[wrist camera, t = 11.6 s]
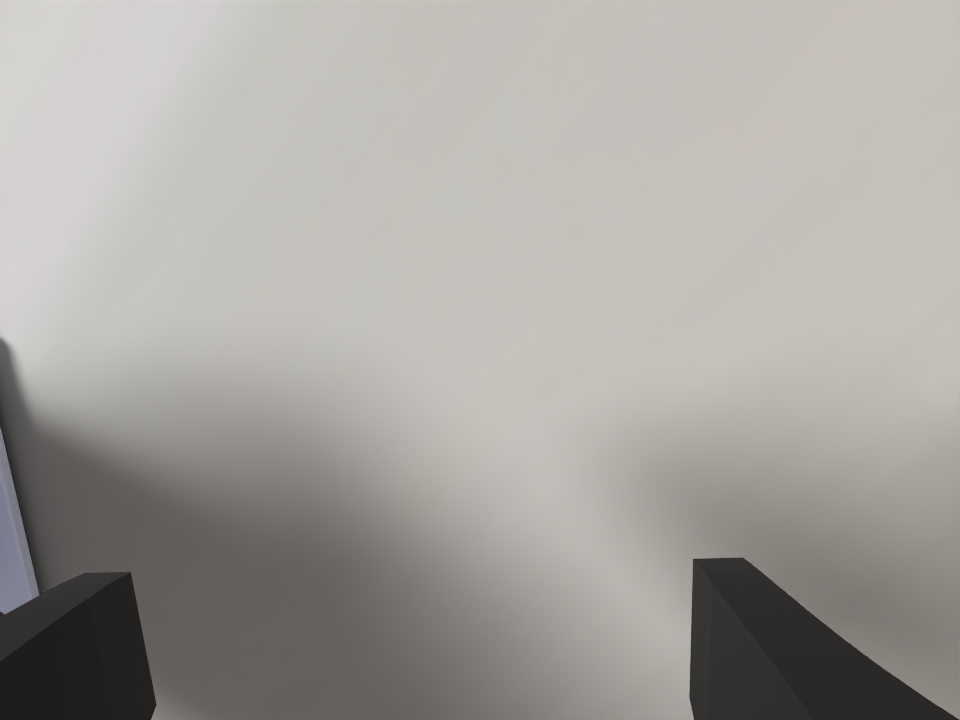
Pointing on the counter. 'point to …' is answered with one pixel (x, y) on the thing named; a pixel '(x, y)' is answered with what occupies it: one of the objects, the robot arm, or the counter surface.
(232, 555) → the counter surface
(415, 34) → the counter surface
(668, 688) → the counter surface
